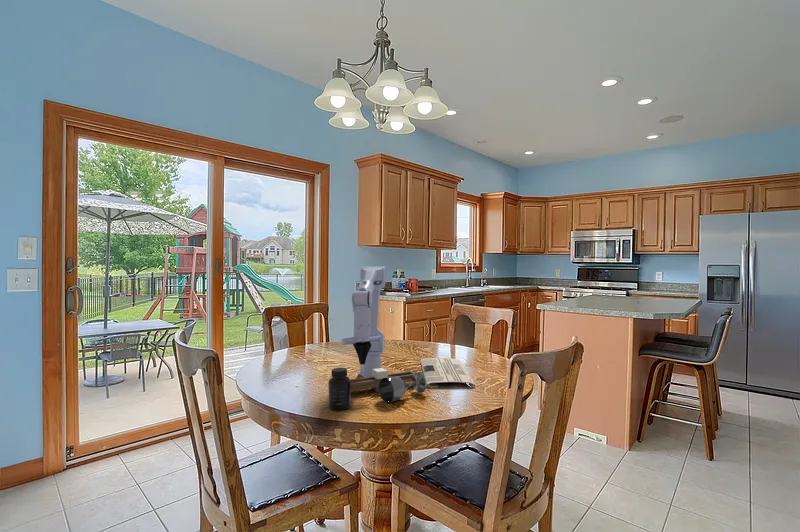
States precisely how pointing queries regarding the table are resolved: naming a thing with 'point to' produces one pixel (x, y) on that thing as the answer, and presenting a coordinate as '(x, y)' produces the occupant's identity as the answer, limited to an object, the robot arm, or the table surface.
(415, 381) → the wine glass
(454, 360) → the newspaper
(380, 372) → the block
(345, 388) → the supplement bottle
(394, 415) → the table surface
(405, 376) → the beam
